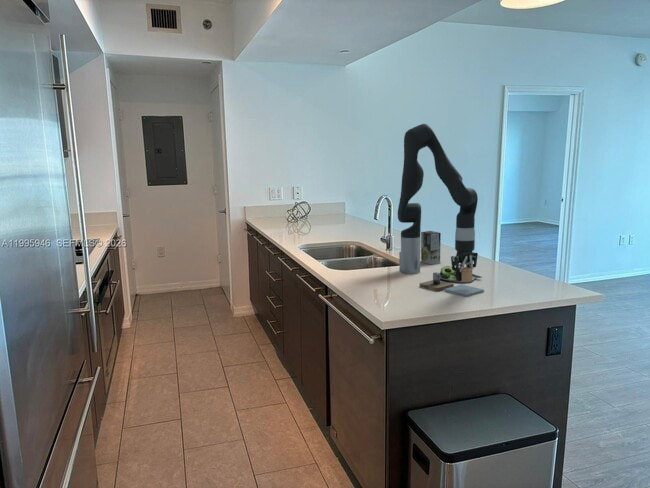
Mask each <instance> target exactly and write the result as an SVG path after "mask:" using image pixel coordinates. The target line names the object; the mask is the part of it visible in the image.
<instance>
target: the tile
mask: <svg viewBox="0 0 650 488" xmlns="http://www.w3.org/2000/svg"><path fill="white" fill-rule="evenodd" d="M444 292H445V293H449V294H453V295H457V296H461V297H465V298H467V297H471V296H472V297H473V296H474V295H475V296H476V295H478V294H481V293H484V292H485V289H484V288H478V287H474V286H470V285H466V284H464V283H460V284H458V285H455V286H454V287H450V288H446V289H445V290H444Z"/></svg>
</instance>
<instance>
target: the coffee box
mask: <svg viewBox="0 0 650 488" xmlns="http://www.w3.org/2000/svg"><path fill="white" fill-rule="evenodd" d="M421 262H422V263H425V264H427V265H428V264H429V265H437V264H441V232H438V231H432V230H426V231H420V263H421Z"/></svg>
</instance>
